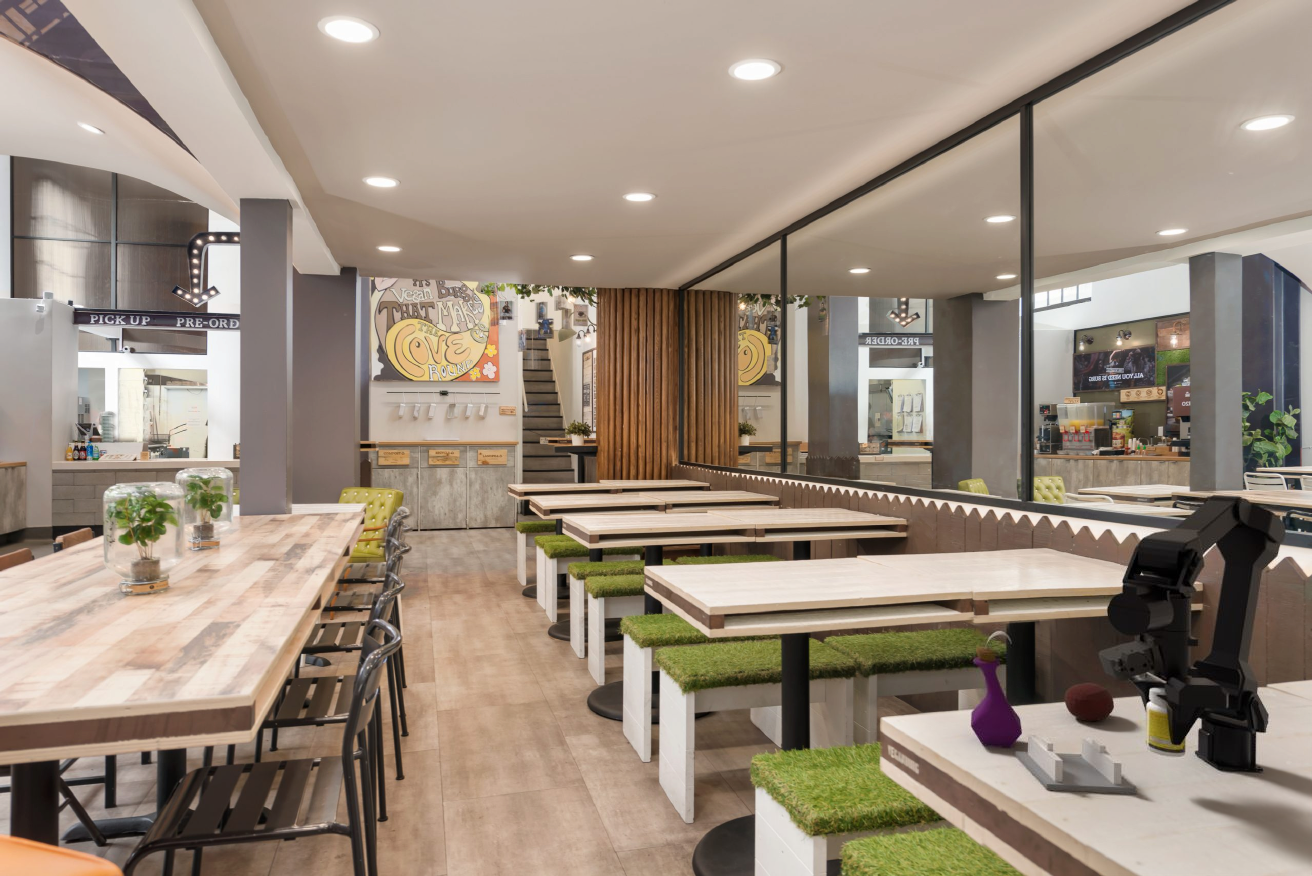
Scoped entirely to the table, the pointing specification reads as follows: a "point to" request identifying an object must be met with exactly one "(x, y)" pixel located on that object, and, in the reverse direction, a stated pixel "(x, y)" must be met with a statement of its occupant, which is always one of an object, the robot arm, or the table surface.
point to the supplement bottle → (1160, 727)
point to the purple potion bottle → (994, 705)
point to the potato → (1089, 701)
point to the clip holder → (1075, 767)
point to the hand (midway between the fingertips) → (1165, 737)
